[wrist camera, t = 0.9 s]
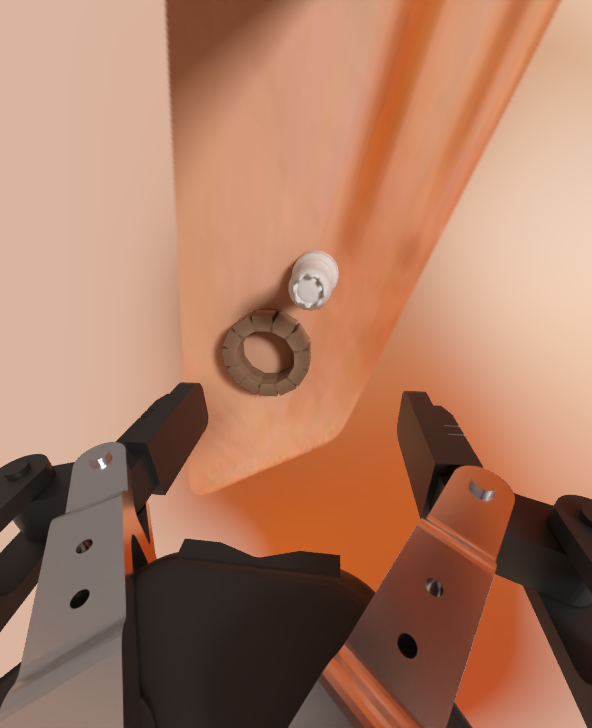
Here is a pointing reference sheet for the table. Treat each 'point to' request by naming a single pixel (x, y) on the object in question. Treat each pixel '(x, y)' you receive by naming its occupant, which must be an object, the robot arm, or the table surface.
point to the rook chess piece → (313, 280)
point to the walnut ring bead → (255, 378)
